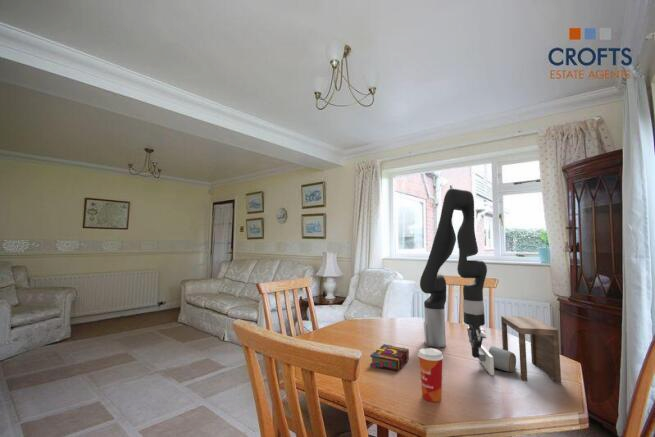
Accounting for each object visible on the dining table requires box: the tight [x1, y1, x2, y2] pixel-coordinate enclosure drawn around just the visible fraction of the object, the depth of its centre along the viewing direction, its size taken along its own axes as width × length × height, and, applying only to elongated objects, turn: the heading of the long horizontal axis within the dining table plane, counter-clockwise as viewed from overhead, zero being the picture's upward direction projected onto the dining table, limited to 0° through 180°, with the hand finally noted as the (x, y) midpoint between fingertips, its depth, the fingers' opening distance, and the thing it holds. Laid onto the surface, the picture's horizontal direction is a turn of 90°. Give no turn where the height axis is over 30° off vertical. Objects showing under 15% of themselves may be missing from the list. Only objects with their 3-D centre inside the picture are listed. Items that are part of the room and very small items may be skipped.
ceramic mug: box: [488, 345, 517, 373], centre depth 117 cm, size 11×8×8 cm
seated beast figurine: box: [467, 326, 487, 338], centre depth 160 cm, size 10×9×12 cm
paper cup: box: [417, 347, 444, 403], centre depth 95 cm, size 8×8×14 cm
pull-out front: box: [477, 343, 495, 376], centre depth 117 cm, size 3×14×6 cm, turn 169°
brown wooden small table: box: [500, 315, 562, 384], centre depth 114 cm, size 12×18×18 cm, turn 169°
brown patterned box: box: [369, 343, 410, 372], centre depth 122 cm, size 11×16×5 cm
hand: (475, 356), depth 117 cm, fingers closed
